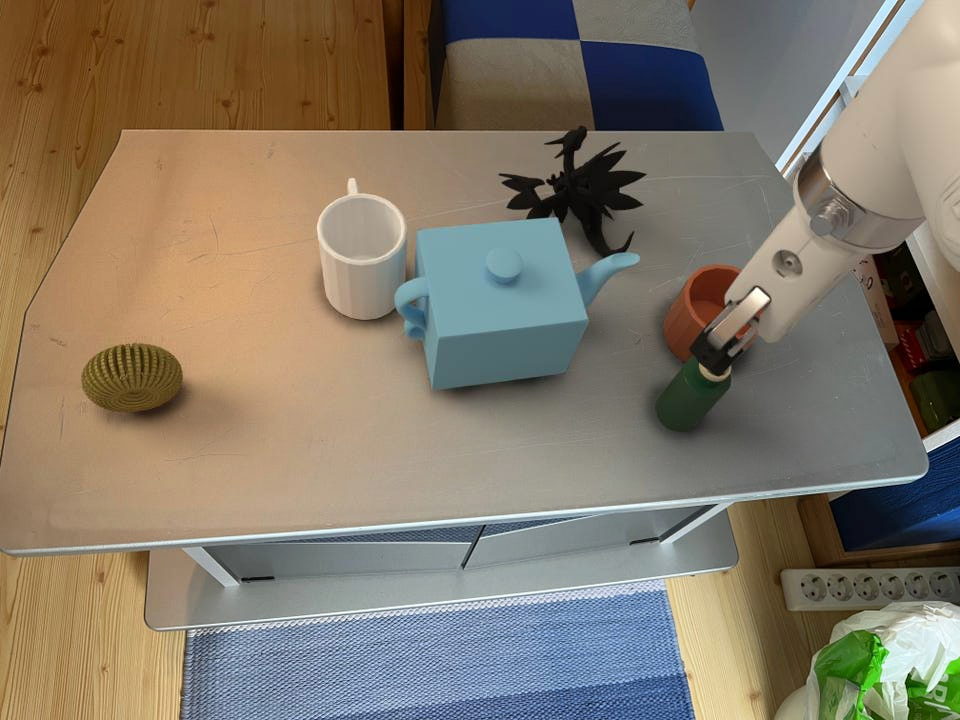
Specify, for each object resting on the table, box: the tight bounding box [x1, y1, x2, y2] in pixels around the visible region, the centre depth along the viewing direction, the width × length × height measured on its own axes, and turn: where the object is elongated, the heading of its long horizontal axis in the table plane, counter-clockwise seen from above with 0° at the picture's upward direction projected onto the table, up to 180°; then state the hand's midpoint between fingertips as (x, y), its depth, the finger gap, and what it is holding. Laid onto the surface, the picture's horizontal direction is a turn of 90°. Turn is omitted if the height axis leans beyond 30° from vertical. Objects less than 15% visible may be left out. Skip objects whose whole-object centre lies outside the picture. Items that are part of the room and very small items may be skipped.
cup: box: [662, 263, 764, 365], centre depth 75 cm, size 9×9×6 cm
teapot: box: [394, 216, 641, 391], centre depth 69 cm, size 22×11×14 cm, turn 101°
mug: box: [316, 177, 408, 321], centre depth 73 cm, size 8×12×10 cm, turn 13°
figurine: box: [497, 124, 648, 259], centre depth 78 cm, size 16×13×11 cm
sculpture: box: [80, 342, 184, 413], centre depth 64 cm, size 8×4×8 cm, turn 107°
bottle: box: [655, 356, 732, 432], centre depth 69 cm, size 4×4×10 cm
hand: (742, 327), depth 60 cm, fingers open, 9 cm apart
